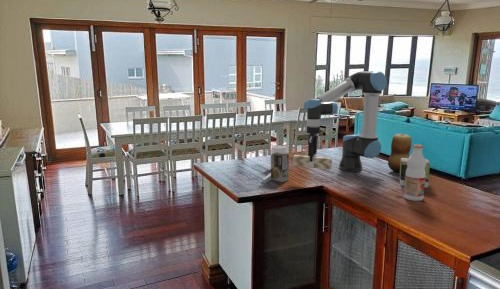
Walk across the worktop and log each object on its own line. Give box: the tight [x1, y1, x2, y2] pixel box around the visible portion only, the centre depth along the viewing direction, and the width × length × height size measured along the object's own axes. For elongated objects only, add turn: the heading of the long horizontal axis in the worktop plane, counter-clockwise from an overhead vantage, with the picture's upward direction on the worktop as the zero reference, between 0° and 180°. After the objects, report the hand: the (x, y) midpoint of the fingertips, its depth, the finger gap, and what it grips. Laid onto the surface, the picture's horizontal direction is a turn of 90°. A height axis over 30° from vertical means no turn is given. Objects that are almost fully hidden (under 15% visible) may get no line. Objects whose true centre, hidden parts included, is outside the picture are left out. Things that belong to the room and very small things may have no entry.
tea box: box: [399, 158, 431, 189], centre depth 219 cm, size 15×10×15 cm
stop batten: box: [261, 172, 271, 184], centre depth 233 cm, size 2×20×2 cm, turn 157°
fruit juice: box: [403, 143, 426, 202], centre depth 194 cm, size 9×9×28 cm
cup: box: [270, 144, 288, 155], centre depth 256 cm, size 11×11×15 cm
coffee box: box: [270, 152, 289, 183], centre depth 229 cm, size 9×6×16 cm
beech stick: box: [292, 154, 333, 170], centre depth 221 cm, size 22×3×6 cm, turn 66°
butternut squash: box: [387, 133, 412, 173], centre depth 246 cm, size 14×13×25 cm
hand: (312, 166), depth 221 cm, fingers closed on beech stick, 3 cm apart
